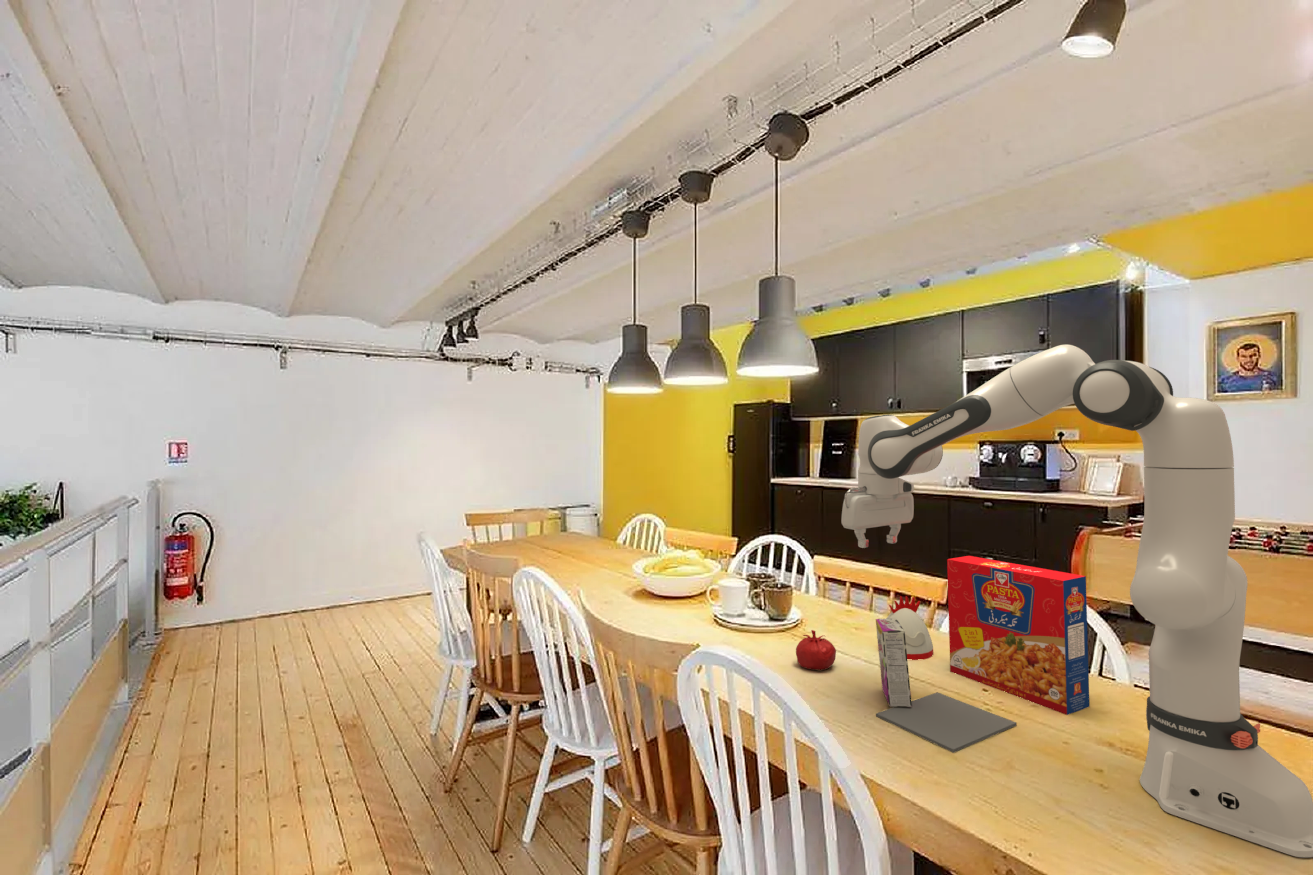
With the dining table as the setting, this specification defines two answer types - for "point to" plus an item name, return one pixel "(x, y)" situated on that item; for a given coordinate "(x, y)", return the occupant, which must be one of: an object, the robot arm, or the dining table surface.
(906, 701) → the candy bar box
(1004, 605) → the pasta box
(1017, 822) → the dining table surface
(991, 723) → the rubber mat
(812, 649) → the pomegranate
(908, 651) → the kitchen timer
